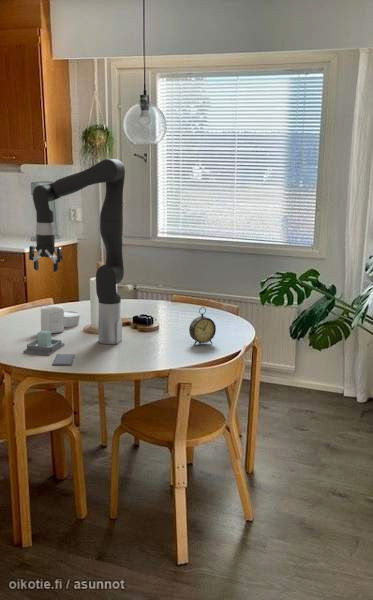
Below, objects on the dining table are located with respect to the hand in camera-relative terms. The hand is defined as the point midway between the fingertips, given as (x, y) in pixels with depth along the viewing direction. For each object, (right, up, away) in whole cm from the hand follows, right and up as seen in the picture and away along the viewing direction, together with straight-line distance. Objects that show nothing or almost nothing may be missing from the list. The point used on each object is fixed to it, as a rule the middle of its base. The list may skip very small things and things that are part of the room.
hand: (45, 270), depth 251 cm
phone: (+13, -36, -27) cm, 47 cm away
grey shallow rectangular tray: (+3, -32, -14) cm, 35 cm away
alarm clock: (+66, -31, -1) cm, 73 cm away
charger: (+3, -31, -15) cm, 35 cm away
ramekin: (+5, -24, +21) cm, 32 cm away
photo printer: (+1, -27, +8) cm, 28 cm away
